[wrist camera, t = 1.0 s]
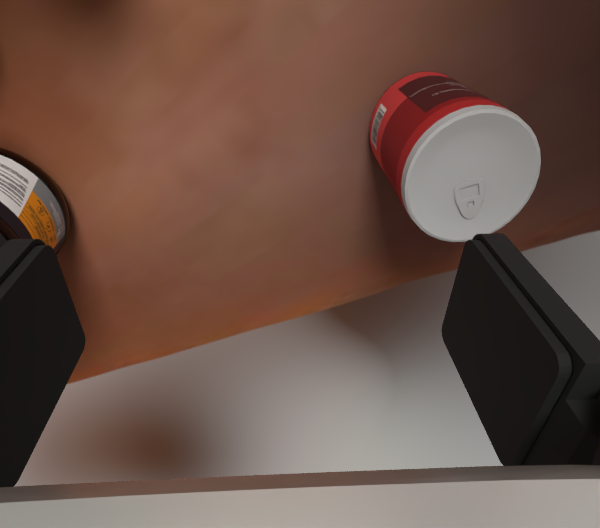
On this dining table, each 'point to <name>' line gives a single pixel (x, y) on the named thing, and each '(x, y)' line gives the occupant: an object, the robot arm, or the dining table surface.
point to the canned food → (453, 156)
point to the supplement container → (30, 203)
